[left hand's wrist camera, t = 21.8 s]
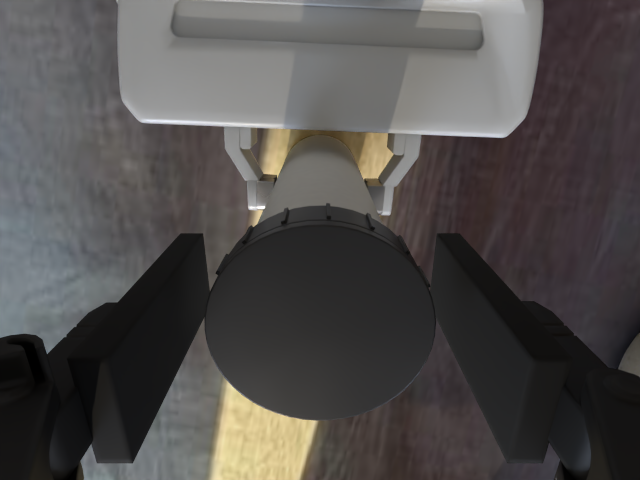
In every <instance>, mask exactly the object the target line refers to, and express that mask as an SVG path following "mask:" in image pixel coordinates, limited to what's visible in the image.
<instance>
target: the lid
mask: <svg viewBox="0 0 640 480" xmlns="http://www.w3.org/2000/svg"><path fill="white" fill-rule="evenodd" d="M216 274H217V275H218V277H217V279H216V281H215V283H214V285H213V287H212V289H211V291H210V294H209V297H208V301H207V304H206V311H205V334H206V340H207V344H208V347H209V350H210V353H211V356H212V358H213V360H214V362H215V364H216V366H217V367H218V369H219V370H220V372H221V373H222V375H223V376H224V377H225V379H226V380H227V381H228V382H229V383H230V384H231V385H232V386H233V387H234V388H235V389H236V390H237V391H238V392H239V393H241V394H242V395H243V396H245V397H246V398H247V399H249V400H250V401H252V402H253V403H255V404H257V405H259V406H261V407H263V408H265V409H267V410H270V411H272V412H275V413H277V414H281V415H284V416H288V417H292V418H298V419H304V420H335V419H343V418H348V417H352V416H356V415H360V414H363V413H365V412H368V411H371V410H373V409H375V408H377V407H379V406H382V405H383V404H385V403H387V402H388V401H390V400H392V399H393V398H394V397H396V396H397V395H398V394H400V393H401V392H402V391H403V390H404V389H405V388H406V387H407V386H408V385H409V384H410V383H411V382H412V381H413V380H414V379H415V378H416V376H417V375H418V374H419V372H420V371H421V369H422V368H423V366H424V364H425V363H426V361H427V359H428V356H429V354H430V351H431V349H432V345H433V341H434V337H435V327H436V318H435V308H434V304H433V299H432V296H431V293H430V291H429V287H430V284H429V282H428V280H427V278H426V277H425V275H424V273H423V271H422V269H421V267H420V266H417V265H416V263H415V261H414V259H413V257H412V255H411V254H410V251H409V250H408V248H407V246H406V244H405V242H404V240H403V238H402V237H401V236H400V235H399V236H398V237H397V236H396V235H395V234H394V233H393V232H392V231H391V230H390V229H388V228H387V227H386V226H384V225H383V224H381V223H380V222H378V221H377V220H375V219H373V218H372V217H371V214H369V213H367V214H366V215H365V214H362V213H359V212H356V211H354V210H350V209H346V208H341V207H334V206H330V203H326V206H306V207H300V208H294V209H290V210H289V209H288V207H287V208H284V211H283V212H280V213H278V214H276V215H274V216H271V217H269V218H267V219H265V220H264V221H262V222H261V223H259V224H257V225H256V226H255V227H253V226H252V225H251V226H250V227H249V228H248V230H247V232H246V234H245V235H244V236H243V237H242V238H241V239H240V240H239V241H238V242H237V244H236V245H235V247H234V248H233V249H232V251H231V252H230V254H229V255H228V254H226V255H225V257H224V259H223V261H222V262H221V264H220V266H219V268H218V270H217V272H216Z"/></svg>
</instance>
